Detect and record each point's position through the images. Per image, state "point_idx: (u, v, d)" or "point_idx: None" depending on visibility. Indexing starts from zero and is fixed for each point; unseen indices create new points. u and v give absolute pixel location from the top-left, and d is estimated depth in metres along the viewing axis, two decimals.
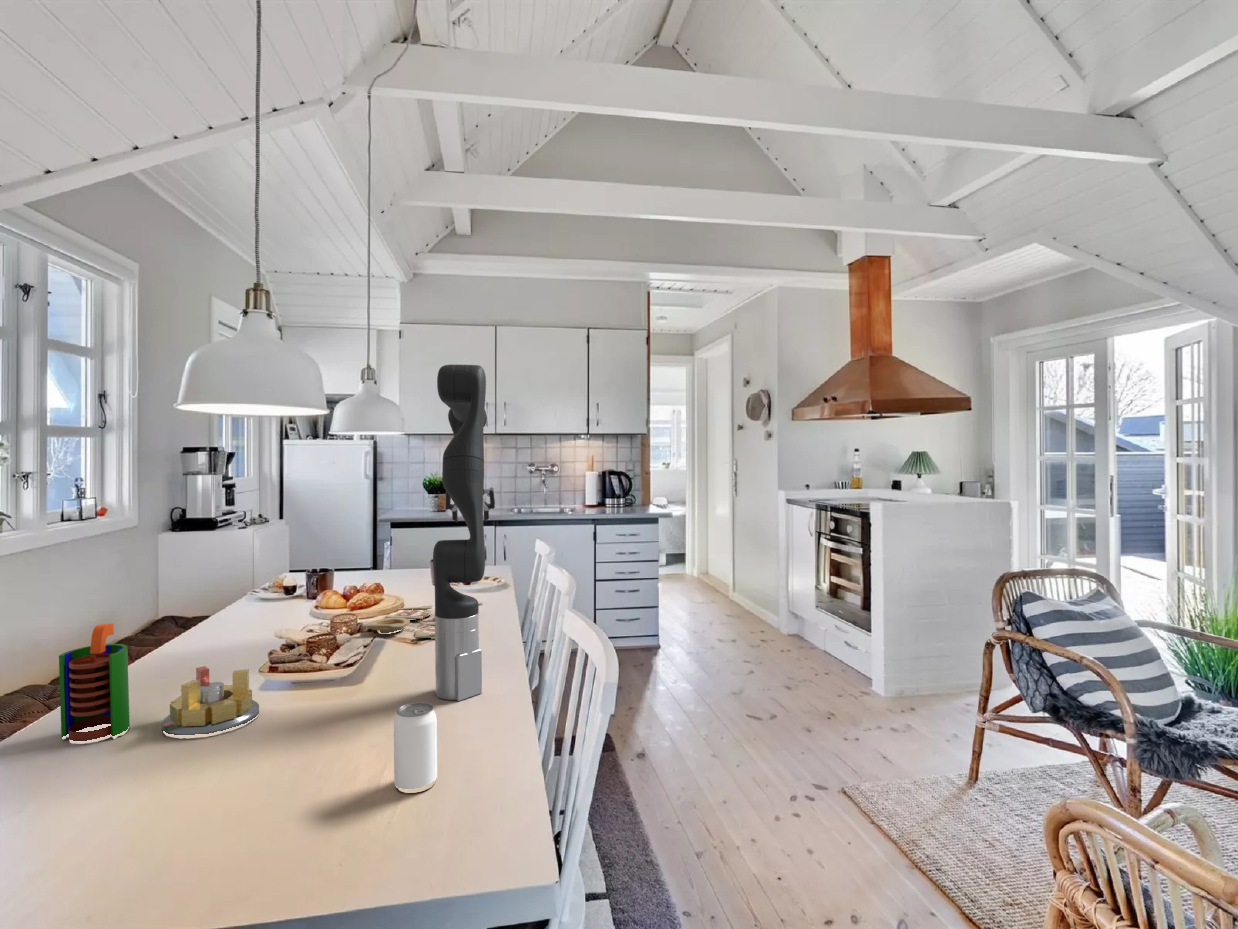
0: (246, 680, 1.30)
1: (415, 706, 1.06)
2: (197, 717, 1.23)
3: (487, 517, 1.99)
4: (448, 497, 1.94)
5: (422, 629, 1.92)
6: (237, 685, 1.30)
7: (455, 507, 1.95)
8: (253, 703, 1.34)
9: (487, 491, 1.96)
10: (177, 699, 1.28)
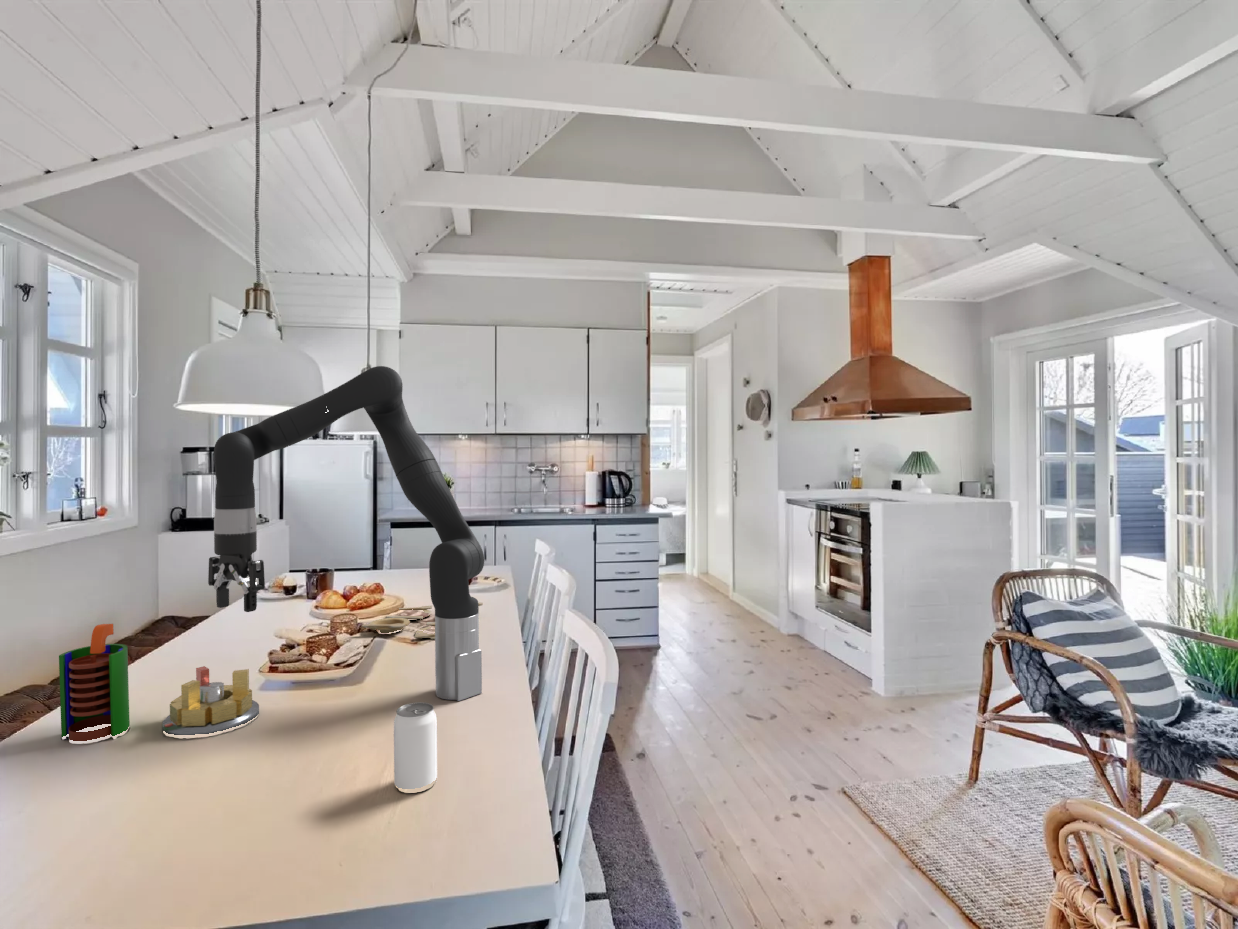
0: (246, 680, 1.30)
1: (415, 706, 1.06)
2: (197, 717, 1.23)
3: None
4: None
5: (422, 629, 1.92)
6: (237, 685, 1.30)
7: None
8: (253, 703, 1.34)
9: None
10: (177, 699, 1.28)
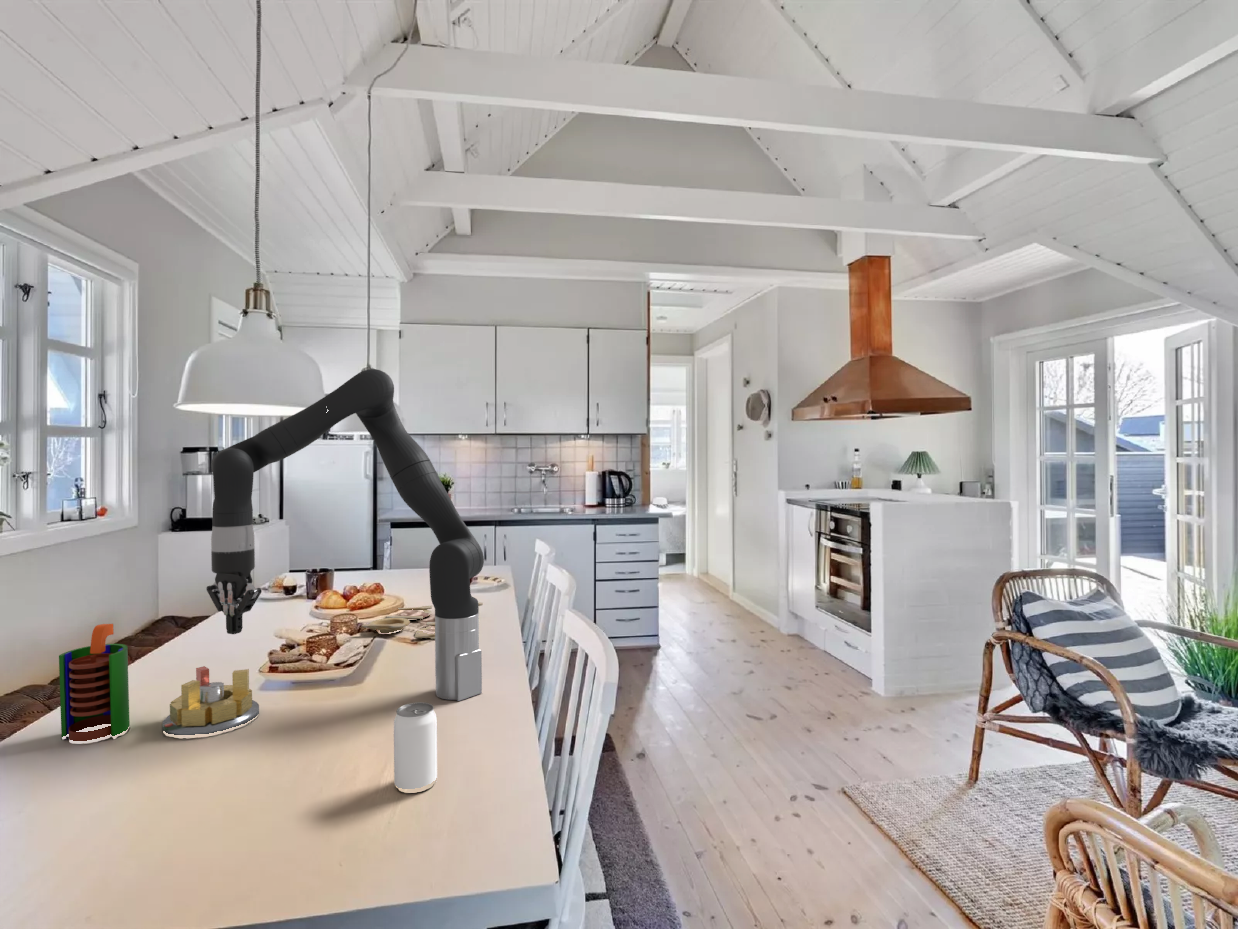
0: (246, 680, 1.30)
1: (415, 706, 1.06)
2: (197, 717, 1.23)
3: None
4: None
5: (422, 629, 1.92)
6: (237, 685, 1.30)
7: None
8: (253, 703, 1.34)
9: None
10: (177, 699, 1.28)
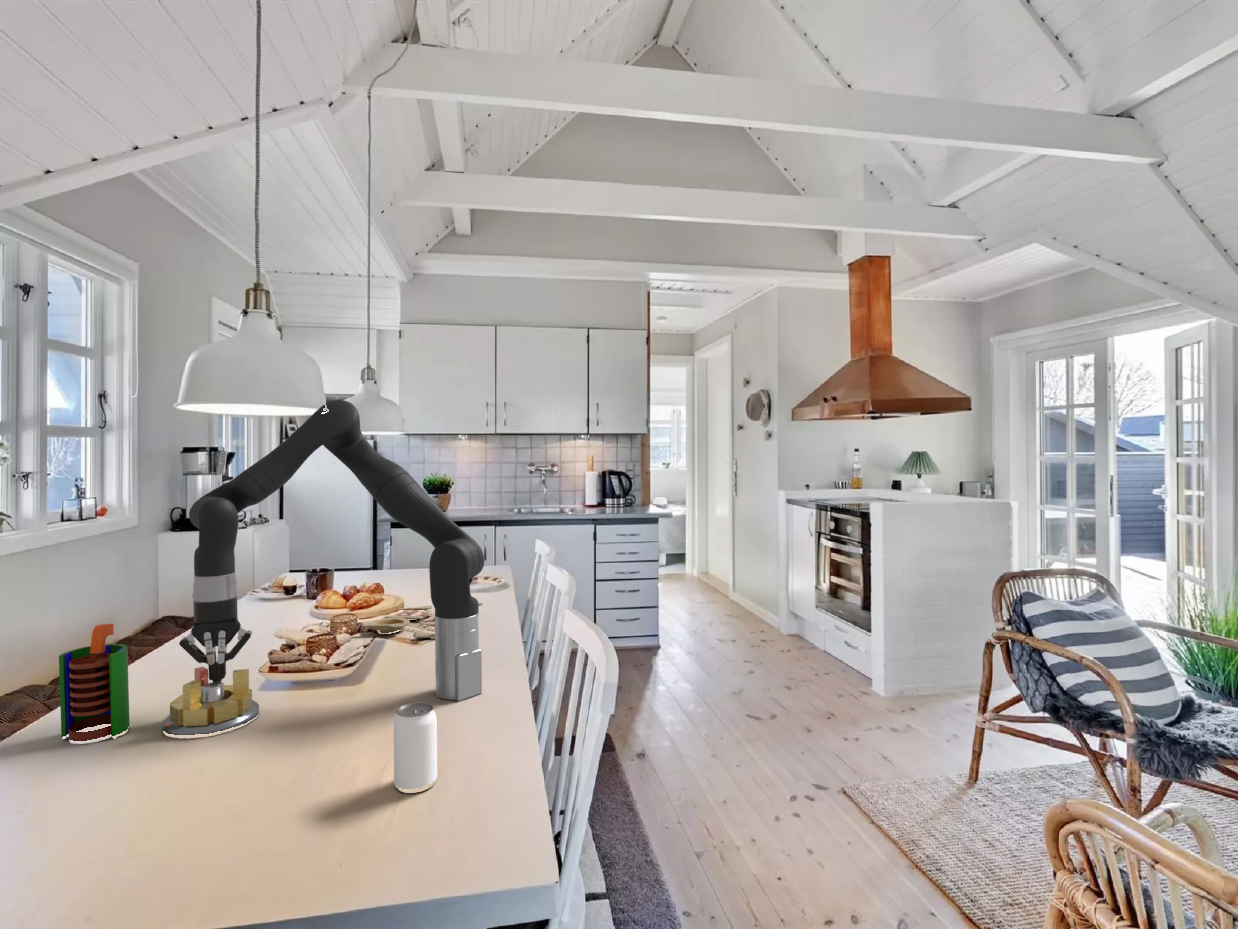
0: (246, 679, 1.31)
1: (415, 706, 1.06)
2: (199, 717, 1.23)
3: None
4: None
5: (422, 629, 1.92)
6: (237, 685, 1.30)
7: None
8: (253, 703, 1.34)
9: None
10: (176, 700, 1.27)
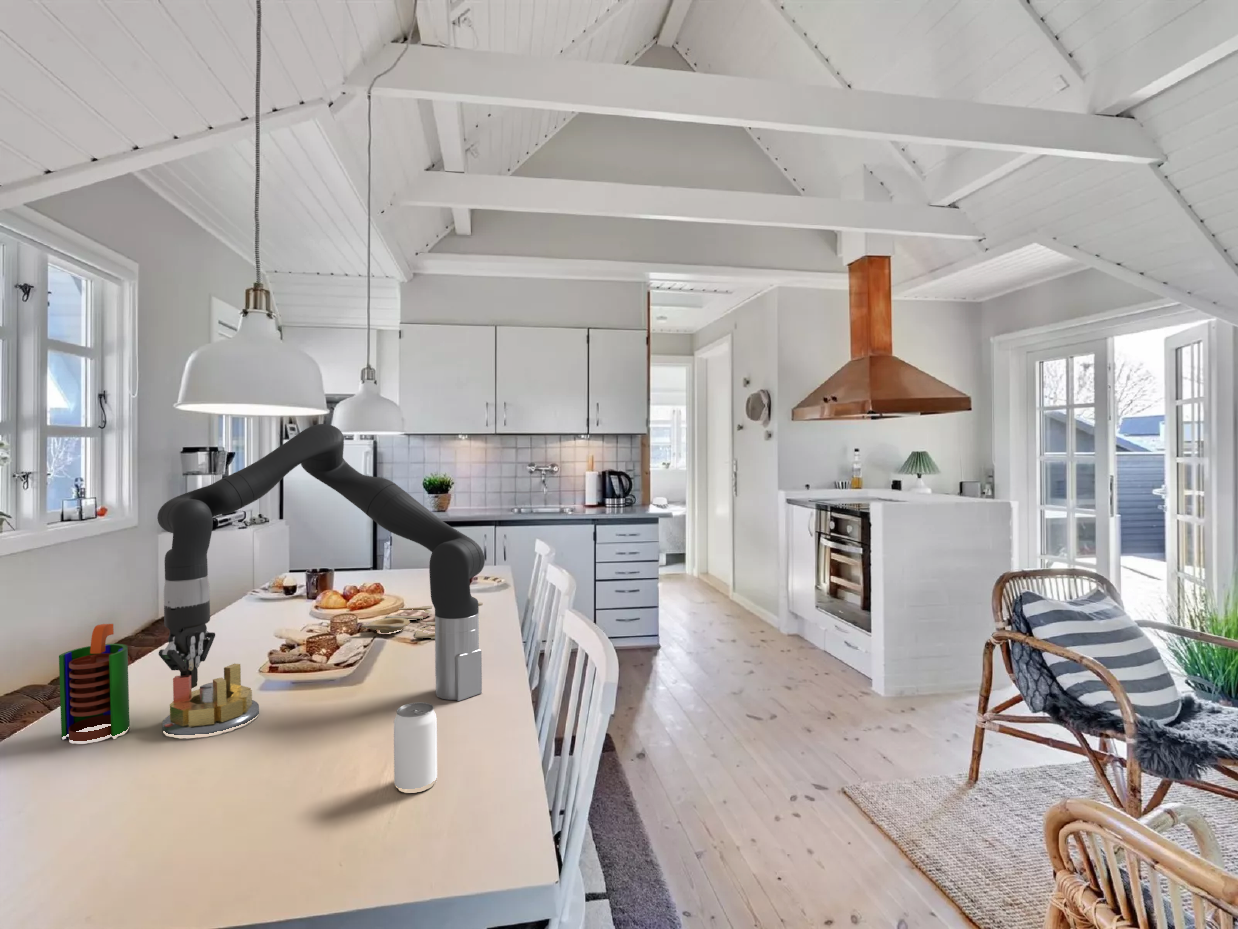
0: (239, 672, 1.35)
1: (415, 706, 1.06)
2: (235, 709, 1.26)
3: None
4: None
5: (422, 629, 1.92)
6: (233, 679, 1.33)
7: None
8: (253, 703, 1.34)
9: None
10: (182, 708, 1.23)
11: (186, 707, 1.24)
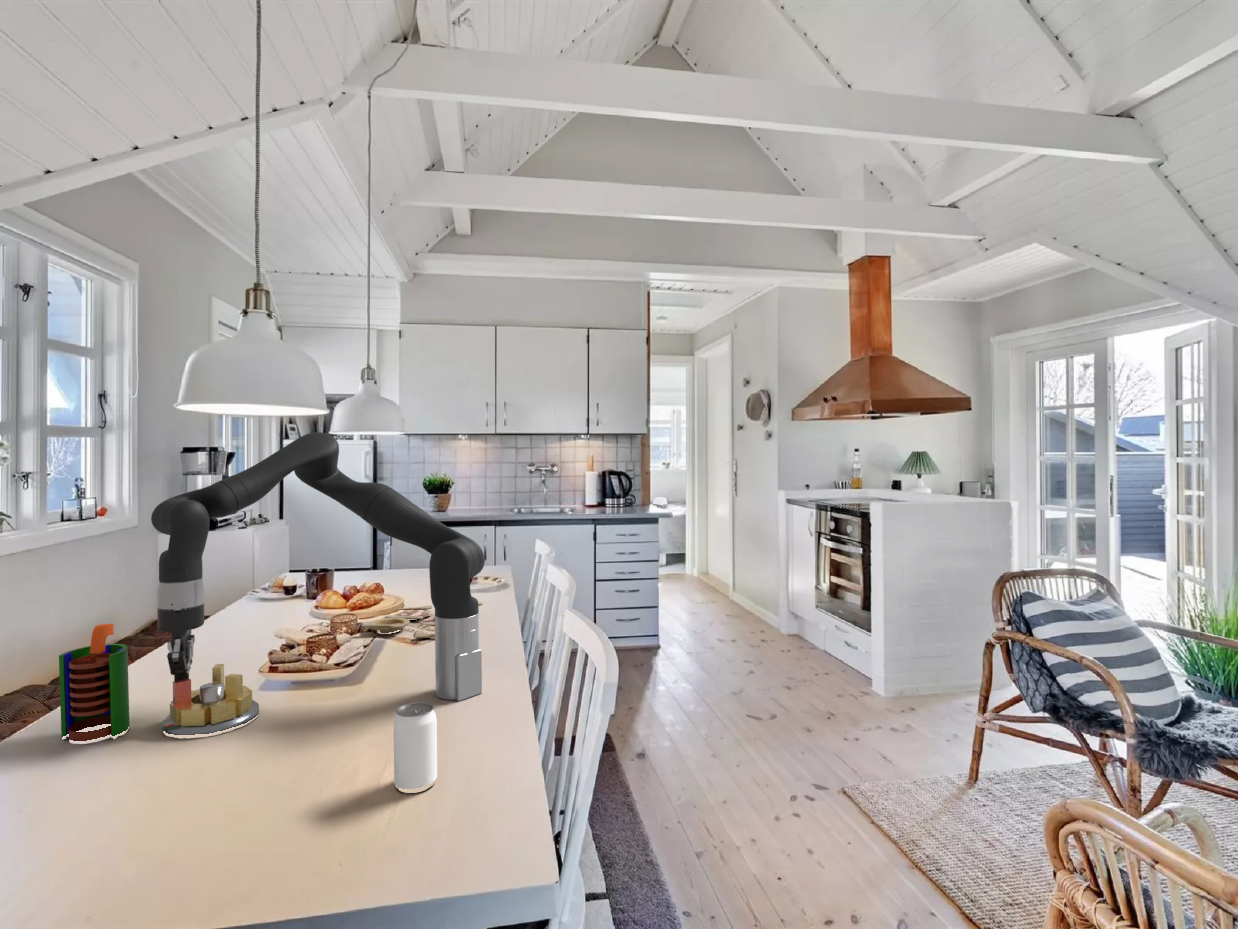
0: (223, 672, 1.35)
1: (414, 706, 1.06)
2: (248, 701, 1.30)
3: None
4: None
5: (422, 629, 1.92)
6: (222, 679, 1.33)
7: None
8: (253, 703, 1.34)
9: (173, 650, 1.23)
10: (199, 708, 1.23)
11: (202, 707, 1.24)
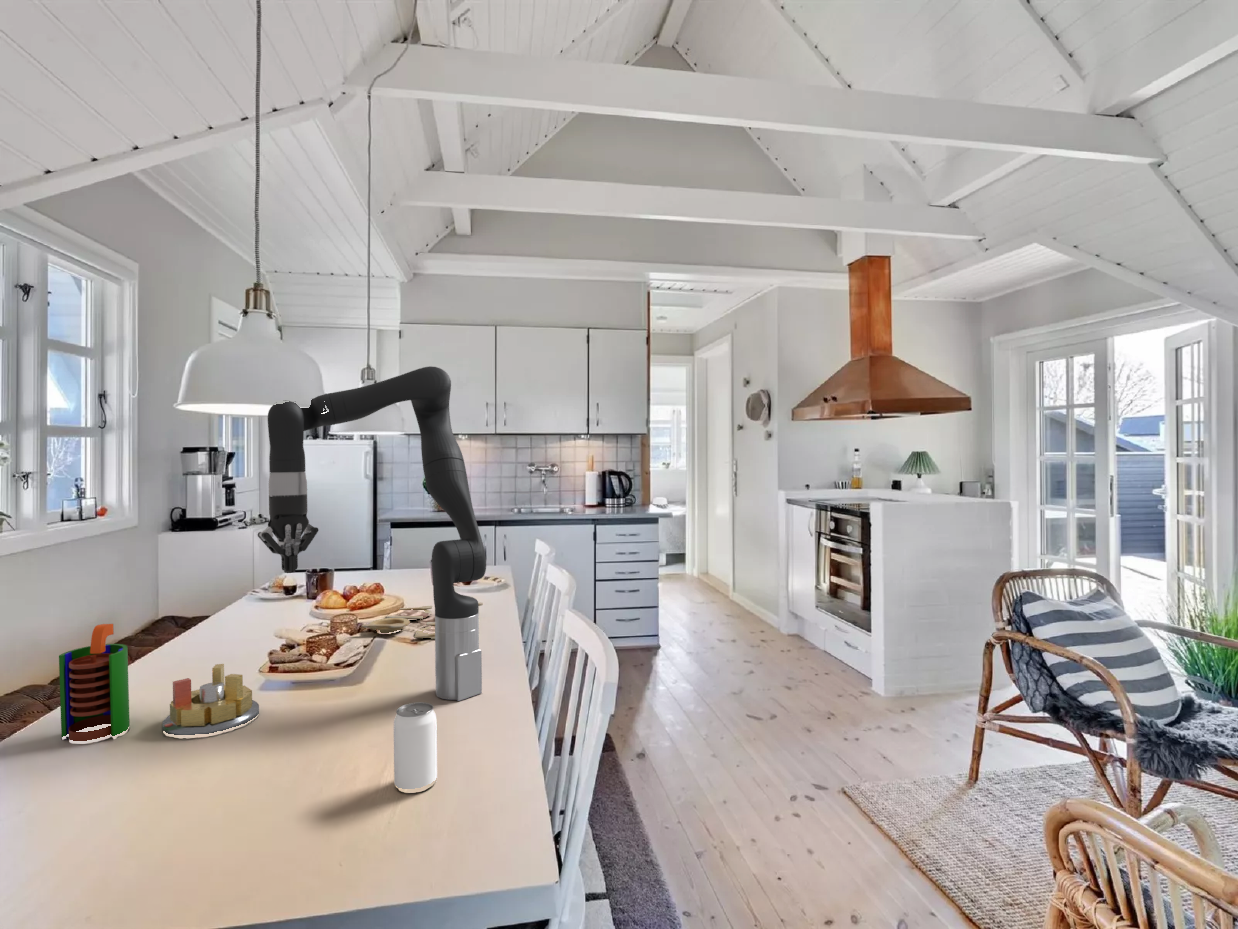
0: (223, 672, 1.35)
1: (414, 706, 1.06)
2: (248, 701, 1.30)
3: None
4: None
5: (422, 629, 1.92)
6: (222, 679, 1.33)
7: None
8: (253, 703, 1.34)
9: None
10: (199, 708, 1.23)
11: (202, 707, 1.24)
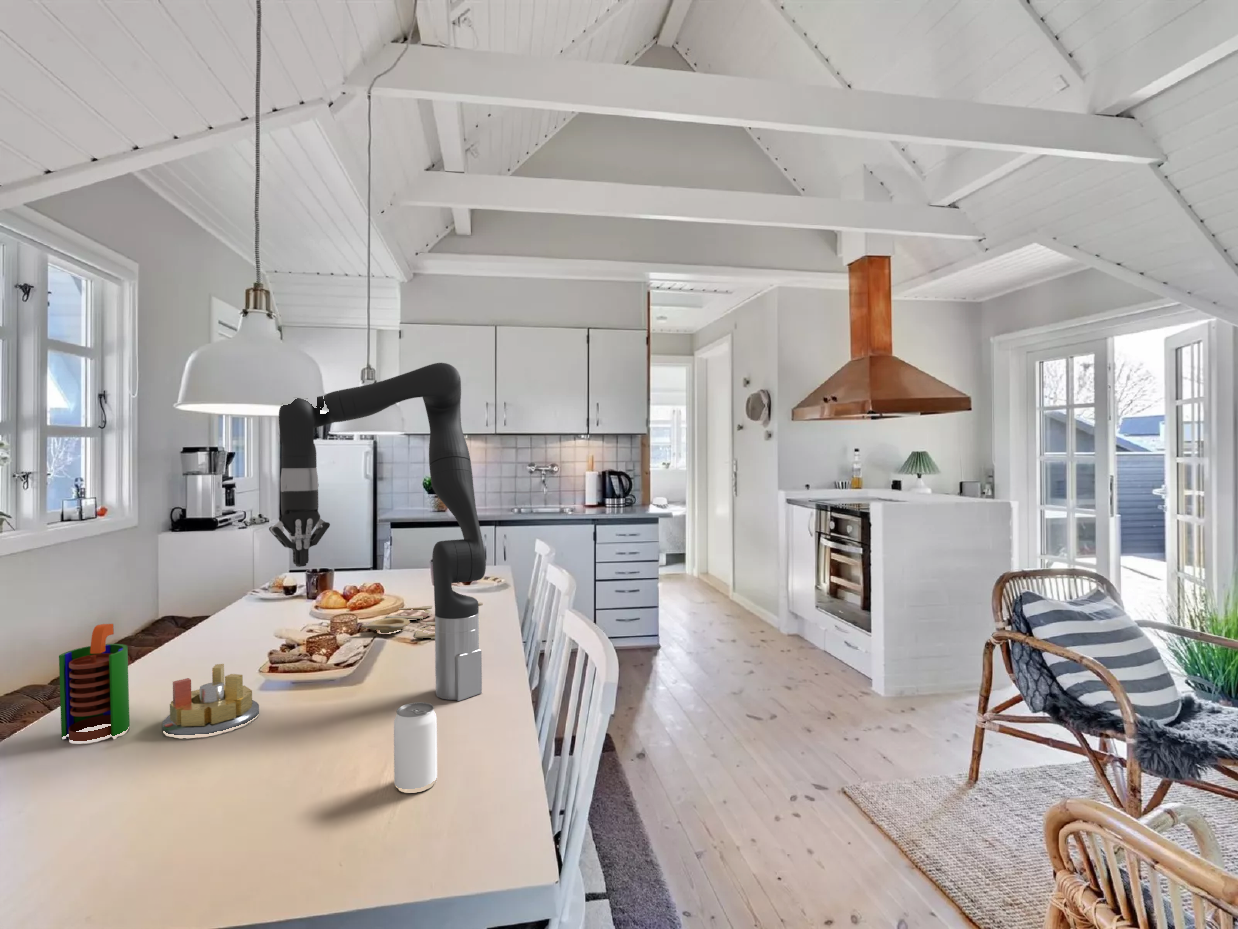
0: (223, 672, 1.35)
1: (415, 706, 1.06)
2: (248, 701, 1.30)
3: None
4: None
5: (422, 629, 1.92)
6: (222, 679, 1.33)
7: None
8: (253, 703, 1.34)
9: None
10: (199, 708, 1.23)
11: (202, 707, 1.24)
